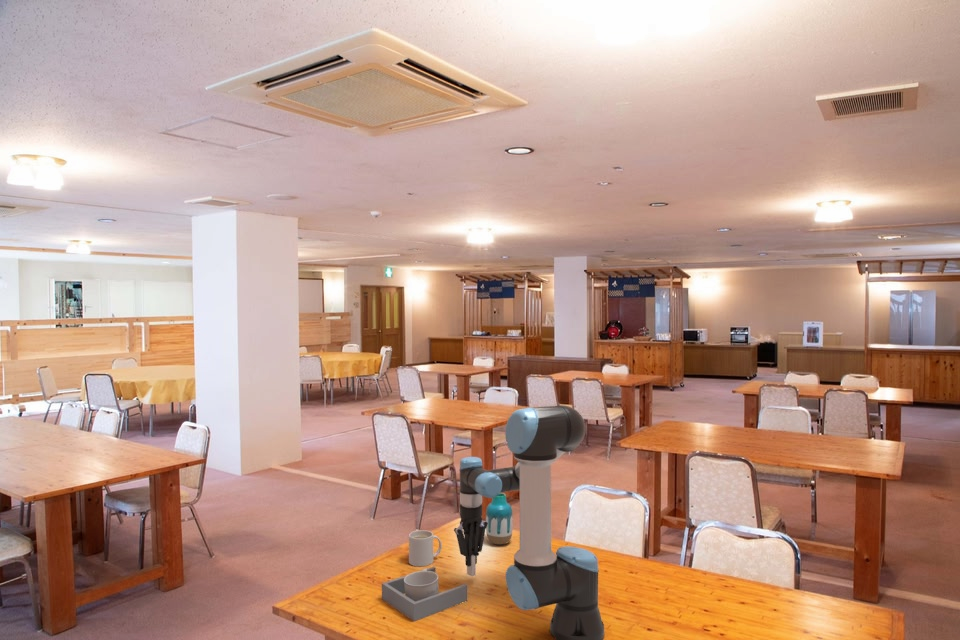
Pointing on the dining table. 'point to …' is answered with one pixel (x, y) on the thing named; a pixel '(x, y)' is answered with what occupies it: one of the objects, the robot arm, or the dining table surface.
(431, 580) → the teacup
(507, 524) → the vase
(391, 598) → the box
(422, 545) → the mug
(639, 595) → the dining table surface
